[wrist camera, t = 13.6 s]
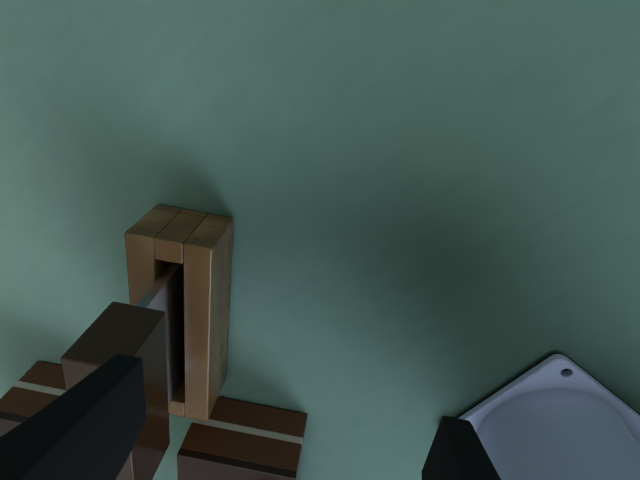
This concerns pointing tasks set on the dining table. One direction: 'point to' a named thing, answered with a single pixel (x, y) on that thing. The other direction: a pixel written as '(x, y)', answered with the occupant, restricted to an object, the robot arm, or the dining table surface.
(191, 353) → the knife block
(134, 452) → the cake cutter
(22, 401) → the cake slice
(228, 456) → the chocolate cake
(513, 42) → the dining table surface
